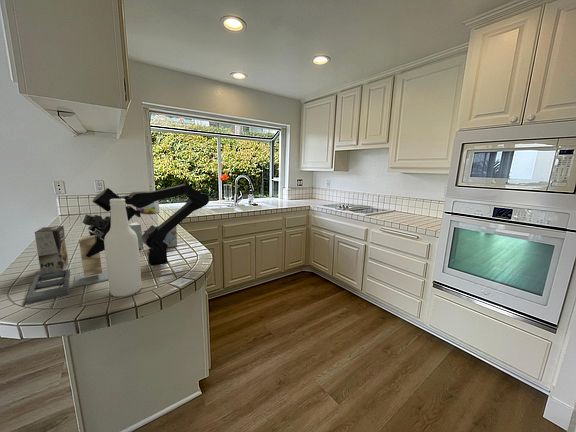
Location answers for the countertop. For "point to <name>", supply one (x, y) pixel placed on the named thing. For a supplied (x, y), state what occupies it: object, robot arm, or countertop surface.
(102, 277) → the mat
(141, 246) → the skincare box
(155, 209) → the snack box
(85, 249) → the tan wooden block
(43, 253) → the coffee box
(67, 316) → the countertop surface
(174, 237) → the light bulb box
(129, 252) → the alcohol
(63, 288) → the frame
